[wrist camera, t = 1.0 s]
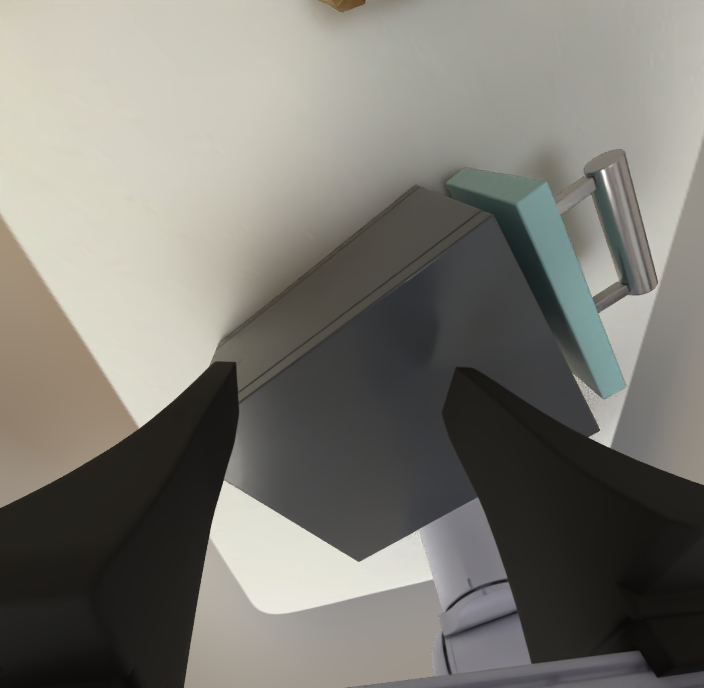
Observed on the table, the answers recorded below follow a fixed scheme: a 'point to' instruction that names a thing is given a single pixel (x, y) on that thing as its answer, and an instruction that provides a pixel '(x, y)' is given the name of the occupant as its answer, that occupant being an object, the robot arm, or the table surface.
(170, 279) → the table surface
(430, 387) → the compartment
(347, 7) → the tan lumpy rounded piece
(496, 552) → the robot arm
